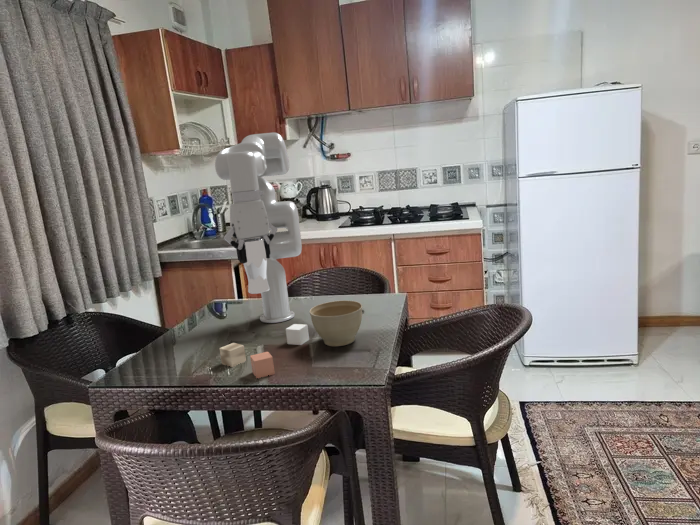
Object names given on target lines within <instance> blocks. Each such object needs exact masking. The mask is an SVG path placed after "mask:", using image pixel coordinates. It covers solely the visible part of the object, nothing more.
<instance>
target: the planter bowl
mask: <svg viewBox="0 0 700 525" xmlns="http://www.w3.org/2000/svg"><path fill="white" fill-rule="evenodd" d="M309 314H310V318H311V323H312V326H313V328H314V330H315V332H316V333H317V334H318V336H319V337H320V339H322V340H323V343H324V344H325V345H327V346H328V347H342V346H346V345H350V344H352V343H353V342H354V341H355V339H356V335H357V333H358V332H359V330H360V328H361V324H362V319H363V305H362V303H361V302H359V301H355V300H332V301H328V302H326V301H325V302H323V303H320V304H317V305H315V306H313V307H311V308H310V310H309Z"/></svg>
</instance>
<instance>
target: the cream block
mask: <svg viewBox="0 0 700 525" xmlns="http://www.w3.org/2000/svg"><path fill="white" fill-rule="evenodd" d="M308 326H309V325H308V324H302V323H293V324H292V325H290V326H289V327H286V328H285V335H286V343H287V344H288V345H294V346H295V345H298V346H302V345H303V344H305V343H306V342H308V341H309V340H310V336H309V327H308Z"/></svg>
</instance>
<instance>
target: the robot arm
mask: <svg viewBox="0 0 700 525" xmlns="http://www.w3.org/2000/svg"><path fill="white" fill-rule="evenodd" d="M288 154H289V153H288V151H287V146H286V143H285V140H284V138H283V136H282V135H281V134H279V133H278V132H264V133H263V132H262V133H254V134H249V135H247V136H245V137H243V139H242V140H241V142H240V143H237V144H235V145H232V146H229V147H226V148H224V149H223V148H222V149H221V150H220V151H219V152H218V153H217V155H216V157H215V162H214V168H215V172H216V174H217V176H218V177H219V178H220V179H221V180H224V181H230V182H229V184H230V188H231V189H230V191H231V198H232V203H230V205H229V206H230V207H229V225H230V226H229V227H230V228H229V230H228V231H227V232H226V233H225V235H224V237H223V240H224V241H225V242H227V243H228V244H229V245H230V246H232V247H233V248H234V249H236V256H237V261H238V262H239V263H241V264H243V263H246V258H245V251H244V249H243V248H242V246H243V243H244V240H245V239H250V238H264V243H265V247H266V254H267V271H266V276H267V282H268V285H269V289H270V290H269V291H267V292H264V293H260V295H261V303H262V310H263V314H261V315H260V317H259V320H260V321H261V322H262V323H266V324H267V323H268V324H275V323H281V322H286V321H290V320H291V319H293V318H294V317H295V312H294V311H293V310H290V301H289V293H288V286H287V277H286V270H285V268H284V266H283V265H282V264H281V263H280V262H279V261H278V260H279V259H285V258H287V259H288V258H295V257H298V256H300V255H301V253H302V250H303V246H302V245H303V244H302V243H303V242H302V237H301V236H302V235H301V228H300V227H301V226H300V217H299V210H298V207H297V205H296V204H295V202H293V201H291V200H287V201H286V200H285V201H277V200H276V189H275V188H274V186H273V185H272V184H271V183H270V181H268V180H267V179H266V178H265V177H274V176H282V175H285V174H287V173H288V172H289V170H290V160H289V155H288ZM278 229H286V230H285V231H278ZM232 238H233V239H232ZM234 239H235V240H234Z"/></svg>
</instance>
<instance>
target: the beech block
mask: <svg viewBox="0 0 700 525" xmlns="http://www.w3.org/2000/svg"><path fill="white" fill-rule="evenodd" d="M245 351H246V350H245V345H243V344H241V343H236V342H232V343H230V344H227V345H224V346H222V347H219V353H220V354H219V356H220V360H221V362H220V363H221V365H224V366H226V365H227V366H226V367H229V366H230V367H229V368H234V367H237V366H238V364H239V365H241V364H243V363H245V361H246V362H247V358H246V352H245ZM240 363H241V364H240ZM236 365H237V366H236Z"/></svg>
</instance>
